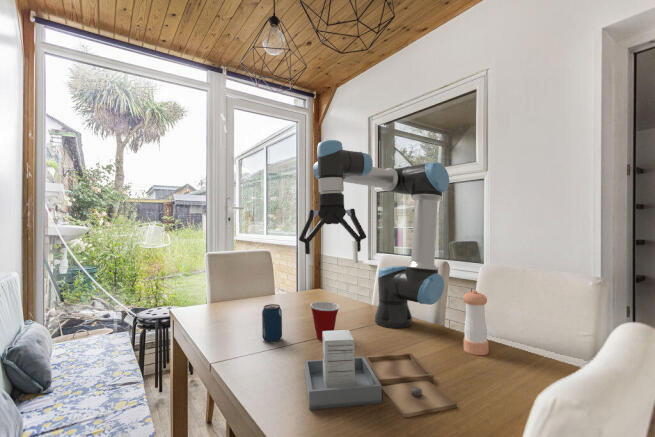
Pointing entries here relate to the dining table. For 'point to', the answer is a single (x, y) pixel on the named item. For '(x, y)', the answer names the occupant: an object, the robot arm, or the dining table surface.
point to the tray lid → (417, 398)
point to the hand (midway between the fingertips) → (333, 264)
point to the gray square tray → (360, 394)
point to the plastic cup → (324, 316)
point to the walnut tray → (398, 368)
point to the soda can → (272, 323)
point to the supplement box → (338, 359)
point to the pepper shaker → (475, 324)
